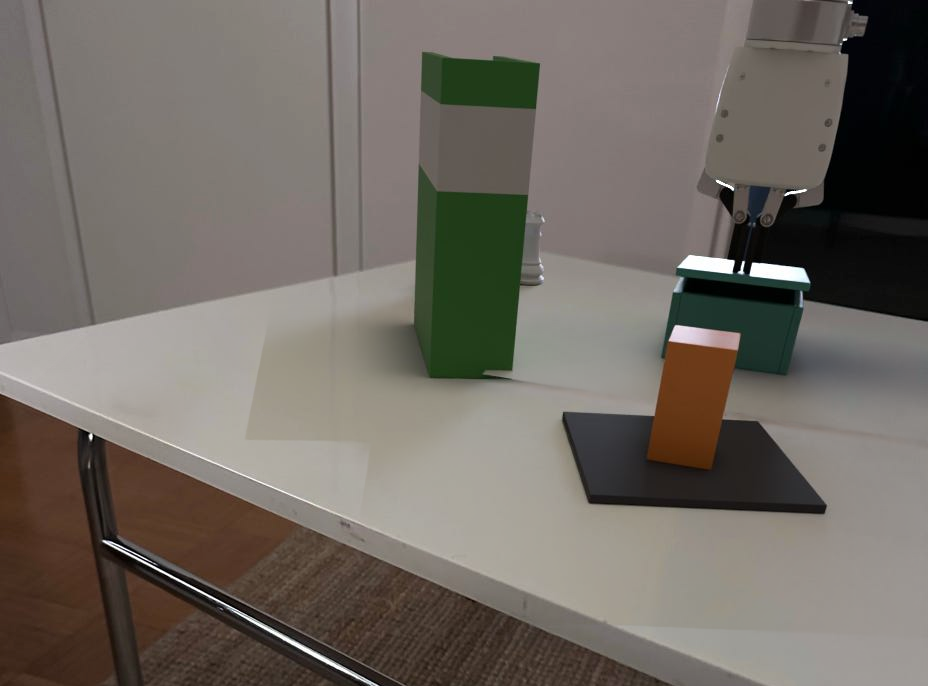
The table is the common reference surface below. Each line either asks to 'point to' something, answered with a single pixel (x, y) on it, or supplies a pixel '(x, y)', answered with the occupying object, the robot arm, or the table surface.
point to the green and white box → (472, 210)
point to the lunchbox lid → (757, 276)
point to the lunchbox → (741, 319)
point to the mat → (686, 468)
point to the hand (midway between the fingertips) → (741, 270)
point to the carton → (692, 396)
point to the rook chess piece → (532, 250)
